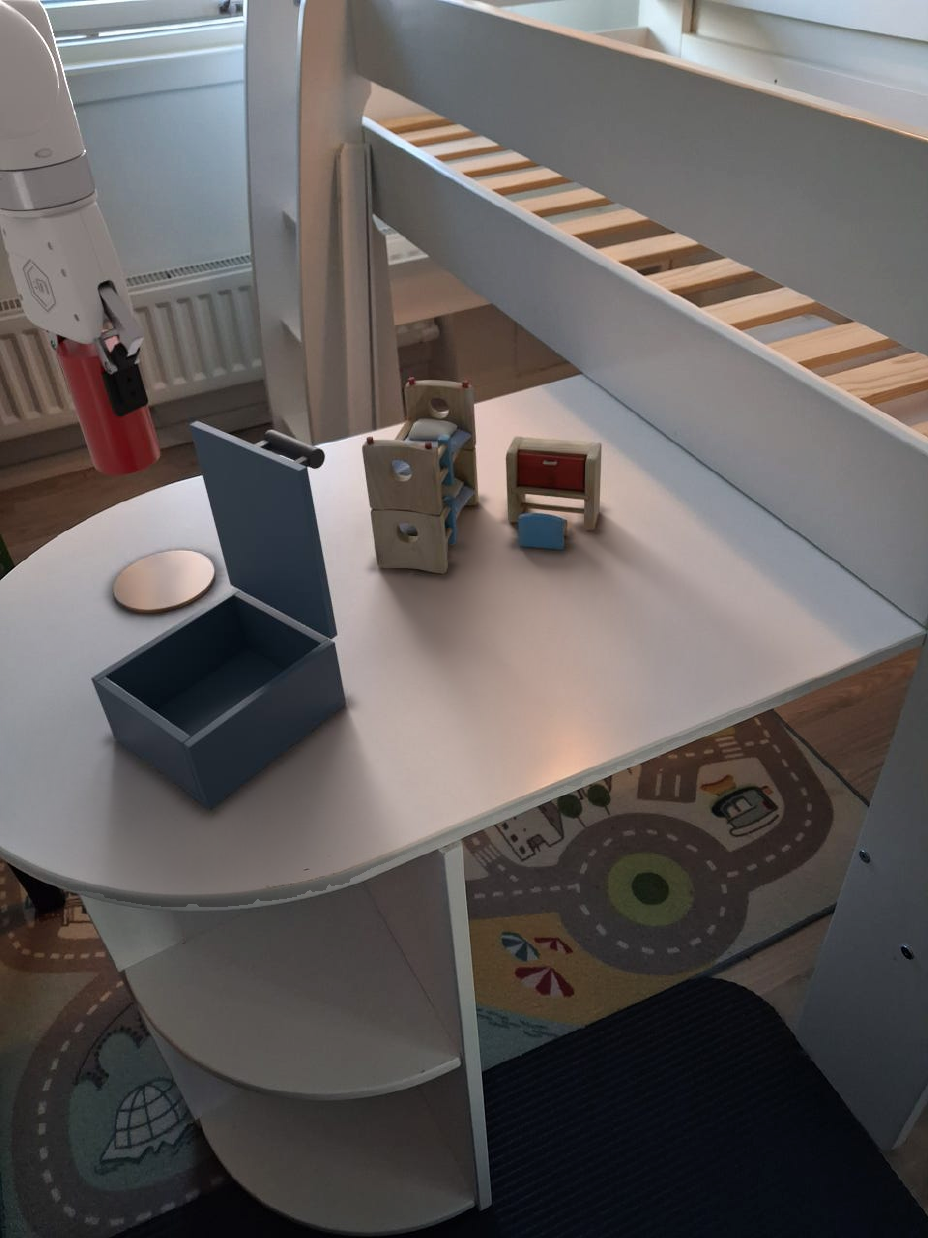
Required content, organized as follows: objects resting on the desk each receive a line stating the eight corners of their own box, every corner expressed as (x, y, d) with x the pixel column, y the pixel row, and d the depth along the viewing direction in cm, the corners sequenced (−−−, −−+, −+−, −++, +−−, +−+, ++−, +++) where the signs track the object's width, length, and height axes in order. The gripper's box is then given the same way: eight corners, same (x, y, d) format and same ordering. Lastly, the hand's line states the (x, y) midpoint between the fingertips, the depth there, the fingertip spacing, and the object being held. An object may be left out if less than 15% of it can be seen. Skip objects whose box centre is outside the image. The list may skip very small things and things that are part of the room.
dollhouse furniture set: (577, 589, 94) (579, 458, 85) (377, 567, 99) (359, 441, 90) (599, 509, 105) (603, 385, 96) (417, 493, 109) (405, 374, 101)
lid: (299, 471, 69) (353, 440, 72) (188, 424, 76) (243, 397, 79) (330, 640, 79) (377, 606, 82) (230, 585, 85) (277, 555, 89)
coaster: (128, 625, 94) (127, 622, 94) (103, 574, 101) (102, 571, 100) (228, 589, 97) (228, 586, 97) (197, 542, 104) (196, 539, 104)
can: (102, 482, 87) (63, 364, 80) (87, 454, 91) (48, 340, 84) (169, 462, 89) (136, 345, 82) (150, 436, 93) (118, 323, 87)
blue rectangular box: (209, 810, 75) (188, 748, 71) (114, 739, 82) (90, 678, 78) (346, 703, 83) (335, 642, 79) (250, 646, 90) (234, 587, 86)
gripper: (-59, 181, 78) (19, 392, 89) (60, 213, 69) (130, 444, 80) (26, 158, 82) (90, 362, 93) (150, 186, 73) (204, 408, 84)
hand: (108, 398), depth 87 cm, fingers closed on can, 6 cm apart
